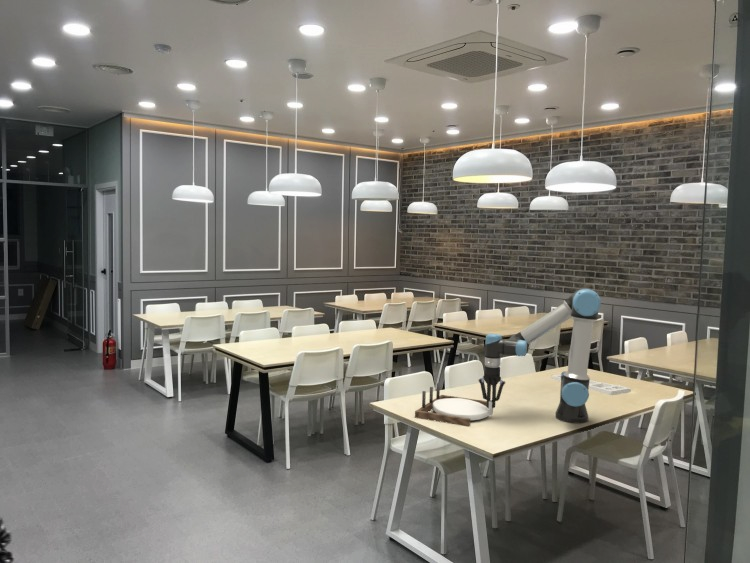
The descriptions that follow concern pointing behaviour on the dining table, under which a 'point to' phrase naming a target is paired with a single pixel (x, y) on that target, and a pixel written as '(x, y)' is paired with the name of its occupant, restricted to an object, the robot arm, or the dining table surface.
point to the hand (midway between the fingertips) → (490, 414)
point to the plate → (461, 408)
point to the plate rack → (425, 414)
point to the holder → (602, 386)
